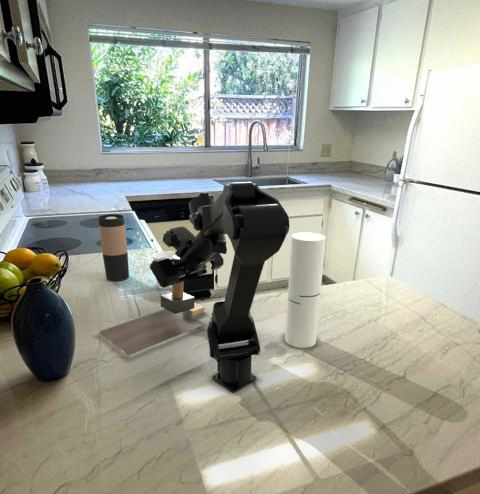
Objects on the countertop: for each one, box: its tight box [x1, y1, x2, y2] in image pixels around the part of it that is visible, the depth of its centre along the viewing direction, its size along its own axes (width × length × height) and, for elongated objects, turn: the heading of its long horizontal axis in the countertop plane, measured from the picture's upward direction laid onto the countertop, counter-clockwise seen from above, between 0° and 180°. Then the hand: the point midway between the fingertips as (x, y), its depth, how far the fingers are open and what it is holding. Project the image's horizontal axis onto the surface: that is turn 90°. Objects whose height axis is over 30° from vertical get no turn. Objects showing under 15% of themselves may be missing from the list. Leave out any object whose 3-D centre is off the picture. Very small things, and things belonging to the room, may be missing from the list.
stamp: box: [160, 256, 195, 314], centre depth 99 cm, size 6×6×13 cm
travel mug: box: [98, 213, 130, 282], centre depth 127 cm, size 8×8×20 cm
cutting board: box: [98, 308, 202, 356], centre depth 97 cm, size 14×20×1 cm
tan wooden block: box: [182, 302, 205, 317], centre depth 105 cm, size 4×4×2 cm
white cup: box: [152, 250, 176, 290], centre depth 123 cm, size 8×8×10 cm
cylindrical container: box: [284, 231, 327, 349], centre depth 90 cm, size 7×7×25 cm
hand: (173, 281), depth 100 cm, fingers closed on stamp, 3 cm apart
